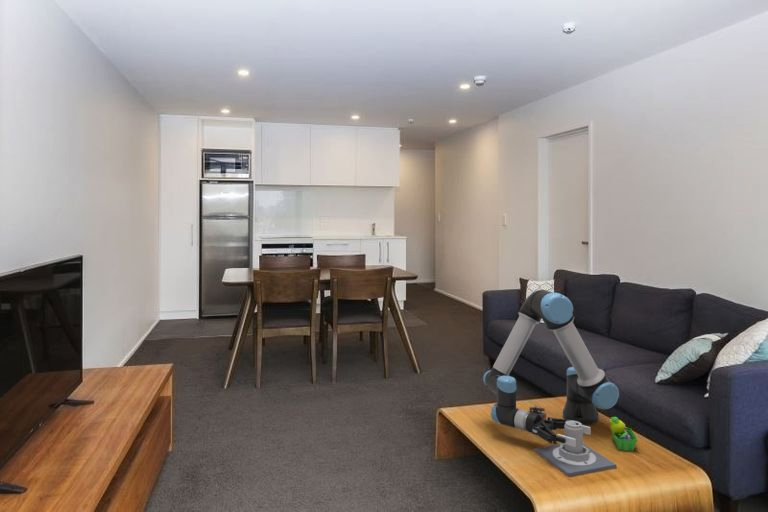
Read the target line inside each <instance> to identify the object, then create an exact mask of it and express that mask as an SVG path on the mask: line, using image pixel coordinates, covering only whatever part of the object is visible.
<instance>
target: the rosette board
mask: <svg viewBox="0 0 768 512" xmlns="http://www.w3.org/2000/svg"><path fill="white" fill-rule="evenodd" d="M534 452H535V453H536V454H537V455H539V456H540V457H541V458H543V459H544V460H545V461H546V462H548V463H550V464H551V465H552V466H553V467H555V468H556V469H557V470H559V471H560V472H561V473H563V474H564V475H565V476H567V477H574V476H579V475H585V474H590V473H595V472H601V471H606V470H612V469H617V463H615V462H614V461H611V460H610V459H608V458H607V457H605V456H604V455H602V454H600V453H599V452H597V451H596V450H594V449H592V448H591V447H589V446H588V445H586V444H584V443H583V453H581V454H574V453H569V452H567V451H565V450H564V444H563V443H559V444H553V445H548V446H542V447H535V448H534Z"/></svg>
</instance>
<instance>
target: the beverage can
mask: <svg viewBox="0 0 768 512" xmlns="http://www.w3.org/2000/svg"><path fill="white" fill-rule="evenodd" d="M582 425H583V424H581V423H580V422H578V421H573V420H570V421H566V422H565V425H564V429H563V432H564V433H563V435H564V436H567V437H571V438H574V439H576V447H573V446H569V445H566V444H564V450H565V451H567V452H569V453H574V454H581V453H583V444H584V433H583V427H582Z"/></svg>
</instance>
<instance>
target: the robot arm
mask: <svg viewBox="0 0 768 512" xmlns="http://www.w3.org/2000/svg"><path fill="white" fill-rule="evenodd" d="M573 312H574V306H573V303H572V301H571V300H570V299H569V298H568V297H567V296H565V295H563V294H561V293H559V292H552V291H549V290H546V289H539V290H538V289H537V290H535V291H533V292H532V293H531V294H529V295H528V297H527V298H526V299H525V300H524V302H523V304H522V306H521V307H520V309H519V311H518V313H517V314H518V317H517V320H516V321H515V324H514V325H513V328H512V330H511V331H510V333H509V335H508V337H507V339H506V341H505V343H504V344H503V346H502V348H501V350H500V352H499V354H498V356H497V358H496V360H495V361H494V364H493V366H492V367H491V369H490V370H487V371H486V372H485V373H483V374H484V375H483V377H482V380H483V384H484V385H485V386H486V388H488V389H489V390H490V391H492V393H494V395H496V403H494V404H493V406H492V407H491V410H490V416H491V419H492V420H493V422H495V423H498V424H500V425H504V426H508V427H511V428H515V429H518V430H520V431H522V432H523V431H526V432H528V433H530V434H533V435H536V436H537V437H539V438H541V439H542V440H544V441H546V442H547V443H549V444H553V445H557V443H559V444H566V445H569V446H573V447H576V439H574V438H571V437H567V436H564V434H559V433H557V434H556V433H555V432H554V431H556V430H564V425H565V422H566V421H570V420H573V421H578V422H580V423H581V424H582V427H583V435H584V434H585V435H589V436H591V430H592V429H591V426H589V425H595V424H597V423H599V422H600V414H599V412H598V409H600V410H609V409H612V408H613V407H614V406H615V405H616V404H617V402H618V401H619V400H618V399H619V398H620V391H619V388H618V387H617V385H616V384H615V383H613V382H611V381H610V380H609V378H608V376H607V375H606V373H605V371H604V370H603V369H601V368H599V367H598V366H597V364H596V363H595V362H596V361H594V359H593V357H592V355H591V353H590V352H589V349H588V348H587V346H586V344H585V342H584V340H583V338H582V336H581V335H580V333H579V331H578V329H577V328H576V325H575V323H574V319H575V316H574V314H573ZM541 321H543V324H544V326H545V327H546V329H547V330H549V331H551V332H553V333H554V335H555V337H556V339H557V340H558V343H559V344H560V347H561V348H562V349H563V352H564V353H565V355H566V357H567V359H568V360H569V362H570V364H571V366H570V367H568V368H567V369H566V401H565V404H564V408H563V410H562V418H555V417H552V416H548V417H547V416H546V420H543V419H542V418H541V416H540V415H539V414H536V413H532V412H531V413H530V412H529V411H530V410H523V409H522V408H521V409H520V408H517V380H516V378H515V377H513V376H510V373H511V372H512V369H513V368H514V367H515V364H516V362H517V361H518V359H519V356H520V355H521V352H522V351H523V350H524V347H525V345H526V343H527V341H528V339H530V335H531V334H532V332H533V330H534V328H535V326H536V325H538V324H540V322H541ZM587 425H588V426H587Z"/></svg>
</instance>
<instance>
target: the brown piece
mask: <svg viewBox="0 0 768 512" xmlns="http://www.w3.org/2000/svg"><path fill="white" fill-rule="evenodd" d="M528 411H529V412H530V413H531V412H532V413H536V414H539V415H540V416H541V418H542V419H543V420H547V412H545V411H546V410H545V407H538V406H536V405H535V406H529V410H528Z"/></svg>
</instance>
